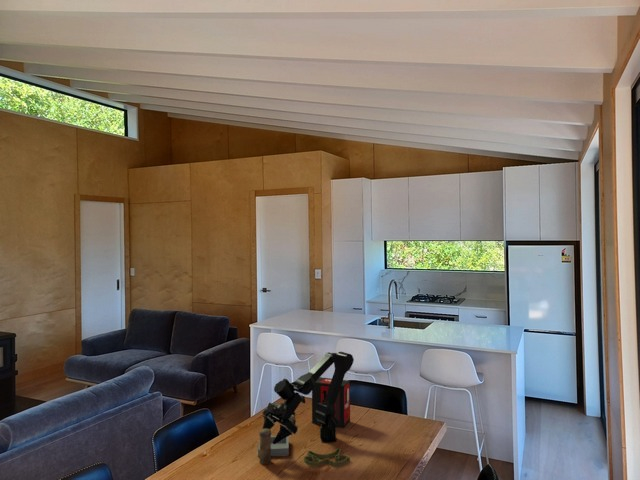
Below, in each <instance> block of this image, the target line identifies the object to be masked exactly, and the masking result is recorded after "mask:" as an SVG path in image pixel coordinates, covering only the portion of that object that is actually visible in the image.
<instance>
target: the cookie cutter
mask: <svg viewBox="0 0 640 480" xmlns="http://www.w3.org/2000/svg"><path fill="white" fill-rule="evenodd" d="M341 451H342V450H341V448H340V447H337V448H336V449H335V450H334V451H332V452H330V453H326V454H325V453H324V454H323V453H321V454H320V453H317V452H314V451H312V450H307V455H305V456H303V461H304V463H305V464H306V465H308V466H311V467H319V466H323V465H324V464H326V463H327V464H328V465H329V466H333V468H334V467H341V466H344V465H346V463H348V462H351V459H350V456H348V455H346V454H341ZM333 457H334V460H330V458H333ZM320 459H322V460H320Z"/></svg>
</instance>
